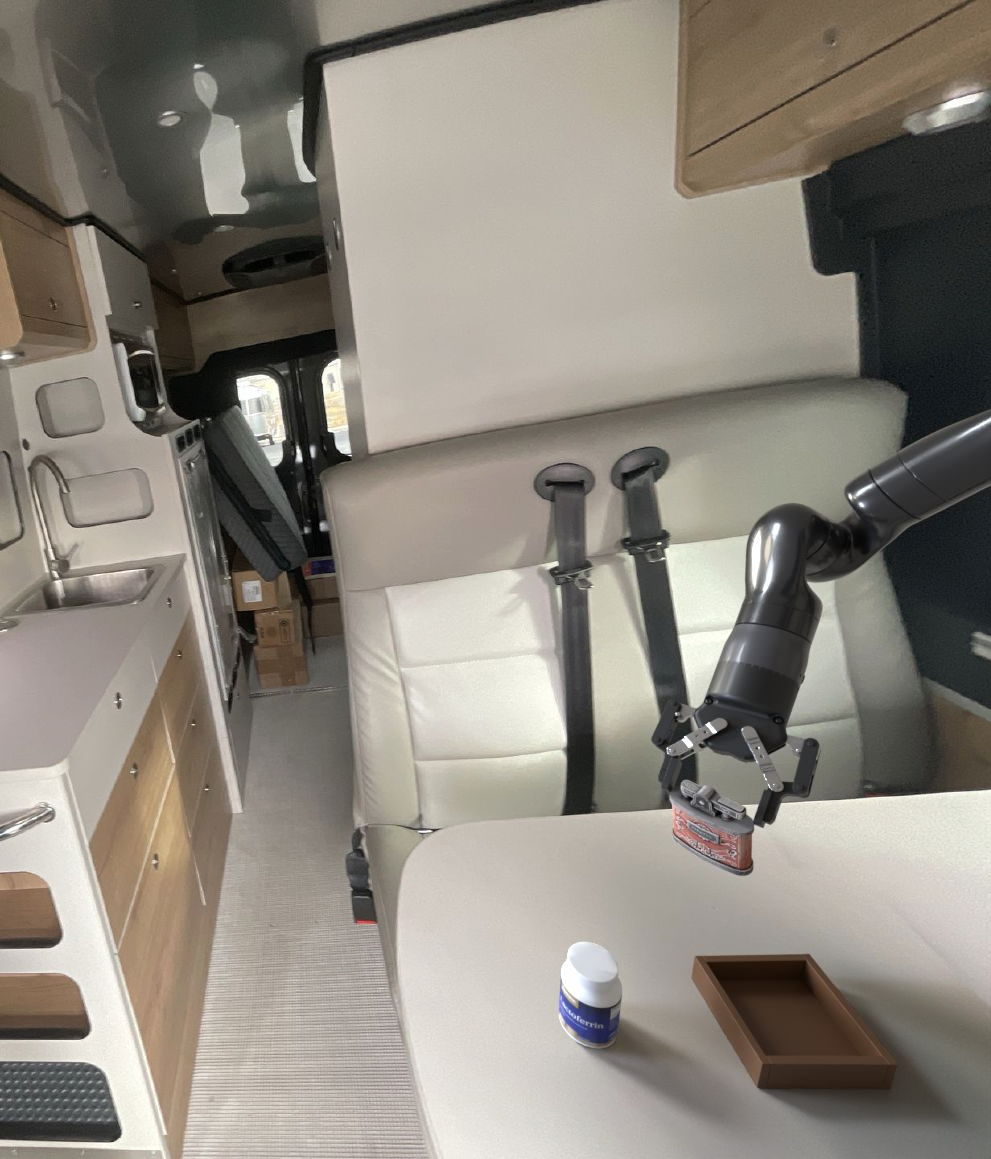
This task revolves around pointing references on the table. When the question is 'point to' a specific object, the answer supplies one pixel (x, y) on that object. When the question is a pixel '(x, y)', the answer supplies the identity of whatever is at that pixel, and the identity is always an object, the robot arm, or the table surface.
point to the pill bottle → (590, 995)
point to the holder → (791, 1023)
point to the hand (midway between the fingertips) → (710, 807)
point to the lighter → (712, 827)
